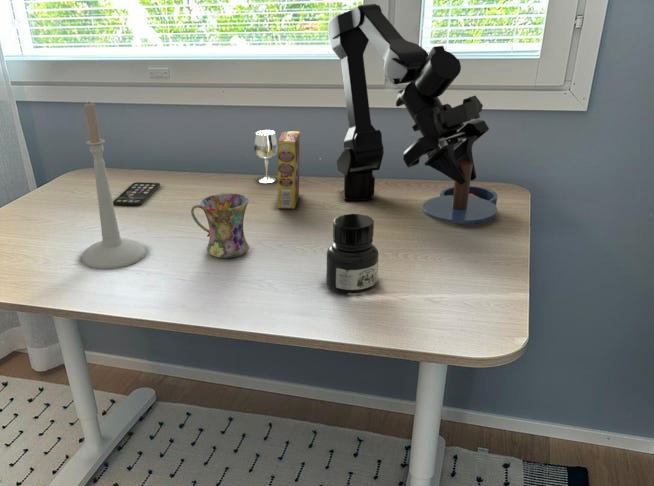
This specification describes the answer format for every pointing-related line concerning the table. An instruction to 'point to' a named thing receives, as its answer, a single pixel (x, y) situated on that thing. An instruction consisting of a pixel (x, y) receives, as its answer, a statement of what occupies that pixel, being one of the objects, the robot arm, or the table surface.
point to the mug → (224, 224)
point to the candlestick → (107, 211)
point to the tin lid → (460, 203)
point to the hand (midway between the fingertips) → (468, 181)
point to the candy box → (288, 169)
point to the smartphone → (136, 193)
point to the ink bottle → (352, 255)
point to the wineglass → (266, 150)
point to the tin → (480, 193)
